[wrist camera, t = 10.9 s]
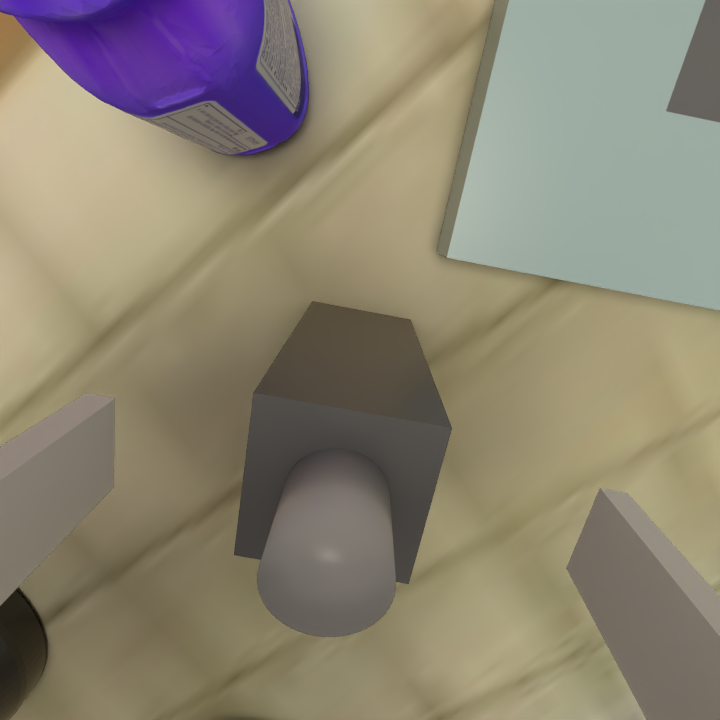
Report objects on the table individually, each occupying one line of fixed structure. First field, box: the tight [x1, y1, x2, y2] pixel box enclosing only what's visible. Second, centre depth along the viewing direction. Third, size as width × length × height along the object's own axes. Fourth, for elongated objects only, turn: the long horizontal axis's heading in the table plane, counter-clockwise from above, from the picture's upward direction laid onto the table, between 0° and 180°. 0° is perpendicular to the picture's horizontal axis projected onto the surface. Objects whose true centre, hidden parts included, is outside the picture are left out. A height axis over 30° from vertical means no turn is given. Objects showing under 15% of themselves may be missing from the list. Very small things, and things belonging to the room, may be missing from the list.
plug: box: [234, 302, 452, 637], centre depth 16 cm, size 5×5×15 cm
